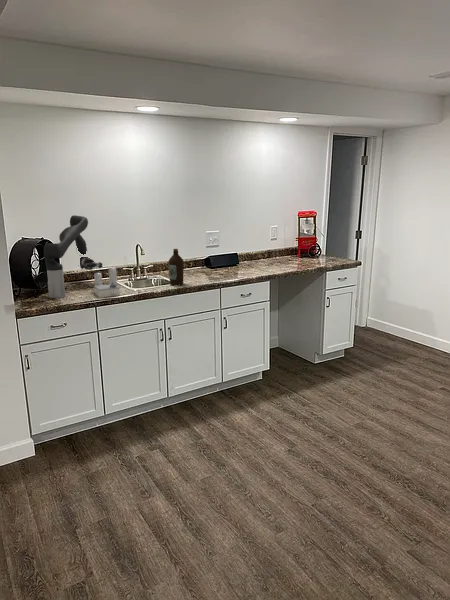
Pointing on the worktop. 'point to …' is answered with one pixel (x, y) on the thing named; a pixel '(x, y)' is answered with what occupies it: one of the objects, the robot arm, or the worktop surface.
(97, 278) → the spacer
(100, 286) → the scale
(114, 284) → the spacer on scale
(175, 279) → the olive oil
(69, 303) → the worktop surface
